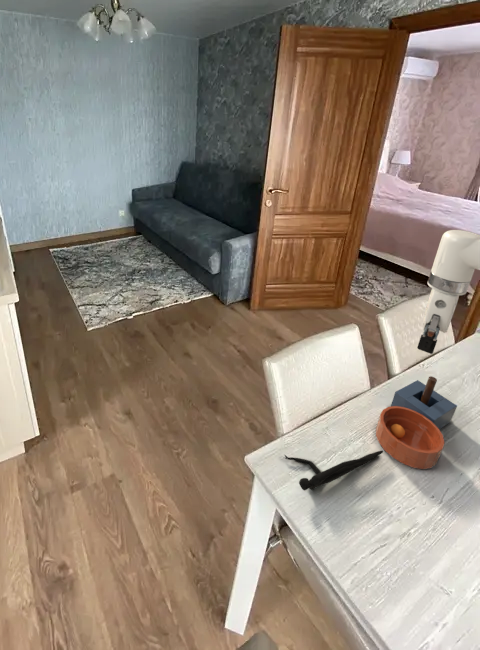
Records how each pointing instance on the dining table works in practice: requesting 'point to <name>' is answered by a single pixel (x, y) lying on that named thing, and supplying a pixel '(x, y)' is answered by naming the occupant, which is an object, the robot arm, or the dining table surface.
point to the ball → (397, 431)
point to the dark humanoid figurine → (331, 470)
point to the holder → (437, 407)
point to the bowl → (410, 437)
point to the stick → (428, 390)
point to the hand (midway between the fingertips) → (427, 341)
